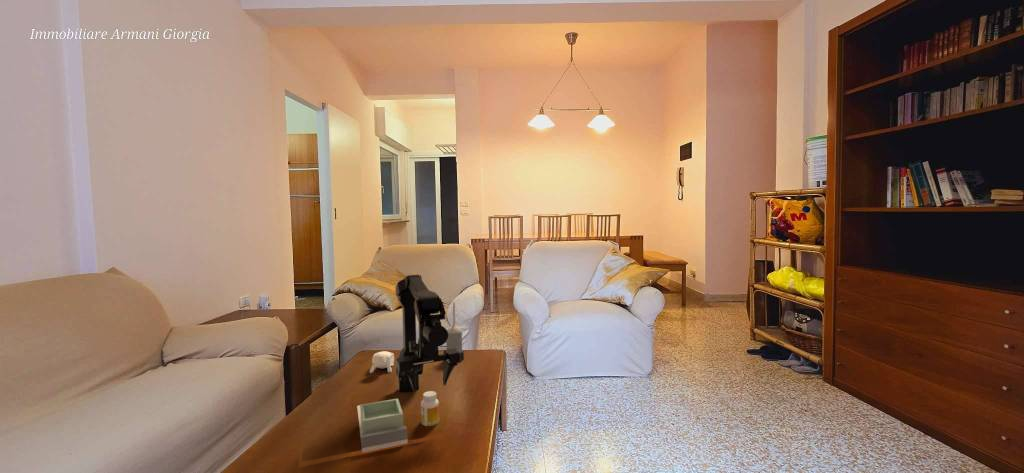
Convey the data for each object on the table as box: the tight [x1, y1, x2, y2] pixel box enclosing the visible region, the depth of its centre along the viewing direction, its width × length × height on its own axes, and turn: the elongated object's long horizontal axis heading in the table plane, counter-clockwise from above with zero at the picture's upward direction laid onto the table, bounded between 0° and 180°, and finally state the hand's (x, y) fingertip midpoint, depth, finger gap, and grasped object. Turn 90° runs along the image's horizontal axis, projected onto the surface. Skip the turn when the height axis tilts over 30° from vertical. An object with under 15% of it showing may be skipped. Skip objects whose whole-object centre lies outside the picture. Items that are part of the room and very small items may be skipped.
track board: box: [356, 404, 408, 454], centre depth 132 cm, size 12×28×4 cm, turn 22°
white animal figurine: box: [369, 350, 395, 374], centre depth 177 cm, size 9×8×15 cm
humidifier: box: [445, 302, 465, 362], centre depth 189 cm, size 8×8×25 cm
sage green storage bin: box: [359, 398, 404, 433], centre depth 128 cm, size 11×11×6 cm
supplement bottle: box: [420, 390, 440, 427], centre depth 132 cm, size 5×5×10 cm
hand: (429, 387), depth 131 cm, fingers open, 9 cm apart
